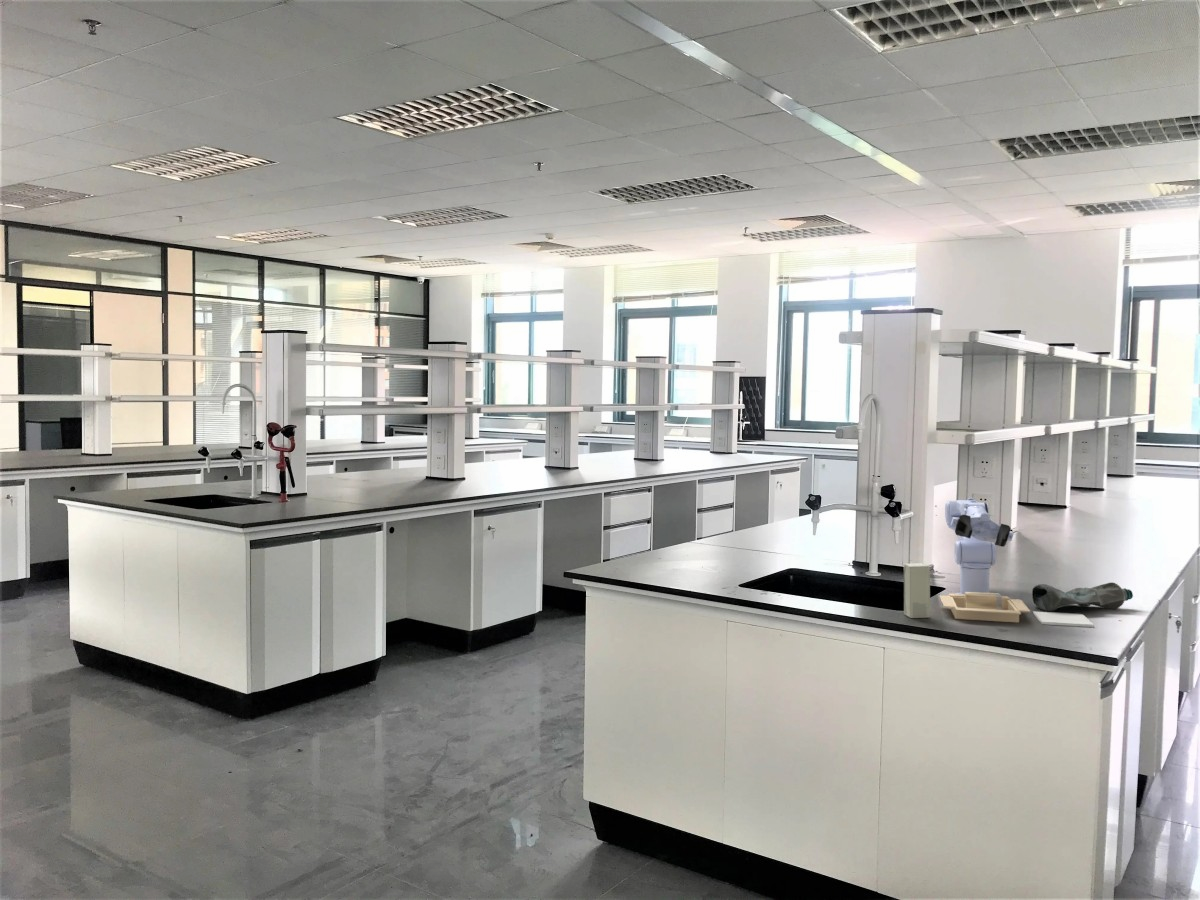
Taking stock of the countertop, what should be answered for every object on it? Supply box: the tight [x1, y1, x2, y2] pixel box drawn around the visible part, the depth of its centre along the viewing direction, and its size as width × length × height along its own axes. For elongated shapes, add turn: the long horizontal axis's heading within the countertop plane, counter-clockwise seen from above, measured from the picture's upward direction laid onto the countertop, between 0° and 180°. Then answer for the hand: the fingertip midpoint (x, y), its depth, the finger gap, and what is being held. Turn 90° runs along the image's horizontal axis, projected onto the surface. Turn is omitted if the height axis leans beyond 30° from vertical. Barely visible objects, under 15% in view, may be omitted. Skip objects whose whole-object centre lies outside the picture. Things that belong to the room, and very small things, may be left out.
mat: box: [1032, 610, 1095, 628], centre depth 214 cm, size 11×11×1 cm
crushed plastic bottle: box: [1031, 582, 1134, 612], centre depth 225 cm, size 13×7×25 cm
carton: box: [939, 593, 1031, 623], centre depth 220 cm, size 19×19×3 cm
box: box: [903, 562, 931, 619], centre depth 218 cm, size 5×4×13 cm
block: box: [964, 592, 1002, 610], centre depth 220 cm, size 4×8×5 cm, turn 74°
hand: (986, 538), depth 217 cm, fingers open, 7 cm apart
